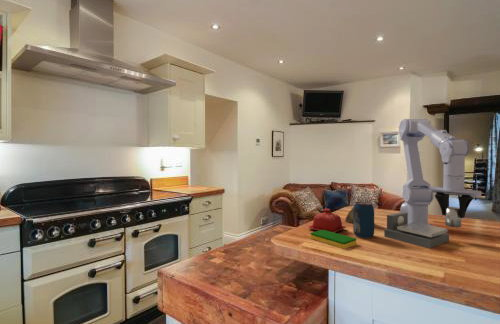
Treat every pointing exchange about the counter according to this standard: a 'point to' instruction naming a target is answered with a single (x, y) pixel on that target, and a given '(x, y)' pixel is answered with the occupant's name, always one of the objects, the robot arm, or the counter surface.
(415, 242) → the scale
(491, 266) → the counter surface
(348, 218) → the rock
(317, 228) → the butter dish
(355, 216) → the soda can
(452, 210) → the steel weight
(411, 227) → the scale pan
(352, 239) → the dish sponge
